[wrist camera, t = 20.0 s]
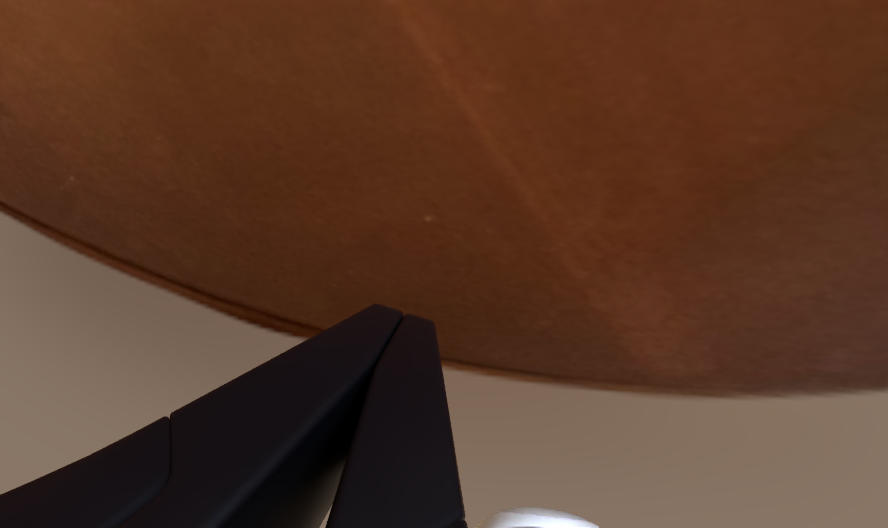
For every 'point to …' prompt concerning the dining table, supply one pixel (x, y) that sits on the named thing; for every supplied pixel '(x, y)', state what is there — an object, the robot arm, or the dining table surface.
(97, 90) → the dining table surface
